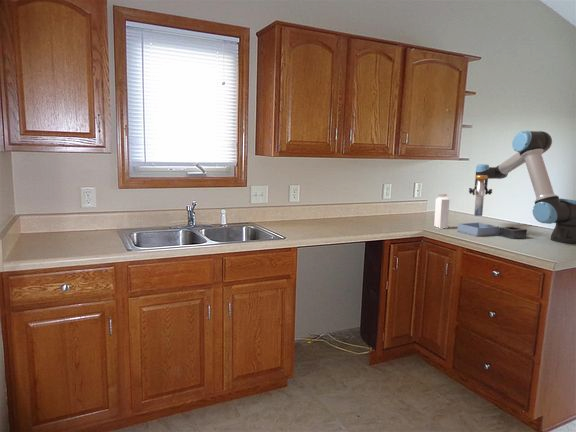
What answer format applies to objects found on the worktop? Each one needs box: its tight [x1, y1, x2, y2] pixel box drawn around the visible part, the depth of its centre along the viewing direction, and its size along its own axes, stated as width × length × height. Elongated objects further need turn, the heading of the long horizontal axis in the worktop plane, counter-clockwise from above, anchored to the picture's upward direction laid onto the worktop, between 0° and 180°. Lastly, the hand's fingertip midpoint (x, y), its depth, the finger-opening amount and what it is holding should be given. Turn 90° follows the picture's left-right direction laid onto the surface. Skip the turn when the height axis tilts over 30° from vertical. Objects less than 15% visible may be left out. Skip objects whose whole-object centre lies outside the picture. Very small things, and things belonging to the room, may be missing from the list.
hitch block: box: [498, 226, 528, 240], centre depth 244 cm, size 10×10×5 cm
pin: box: [473, 174, 487, 217], centre depth 251 cm, size 6×6×24 cm
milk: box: [433, 193, 450, 228], centre depth 270 cm, size 6×6×22 cm
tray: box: [457, 222, 500, 238], centre depth 254 cm, size 16×16×5 cm
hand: (479, 193), depth 246 cm, fingers closed on pin, 4 cm apart
